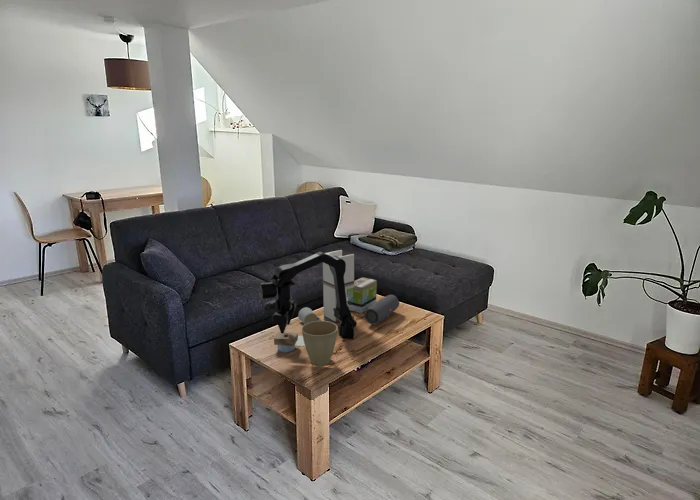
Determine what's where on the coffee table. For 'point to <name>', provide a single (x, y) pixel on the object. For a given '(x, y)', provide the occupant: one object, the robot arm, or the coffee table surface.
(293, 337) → the lid
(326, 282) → the tall grey upright box
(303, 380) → the coffee table surface
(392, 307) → the bluetooth speaker
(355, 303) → the tea box
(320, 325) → the plant pot
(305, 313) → the ceramic mug
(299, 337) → the mat
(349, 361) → the coffee table surface
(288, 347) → the bowl
